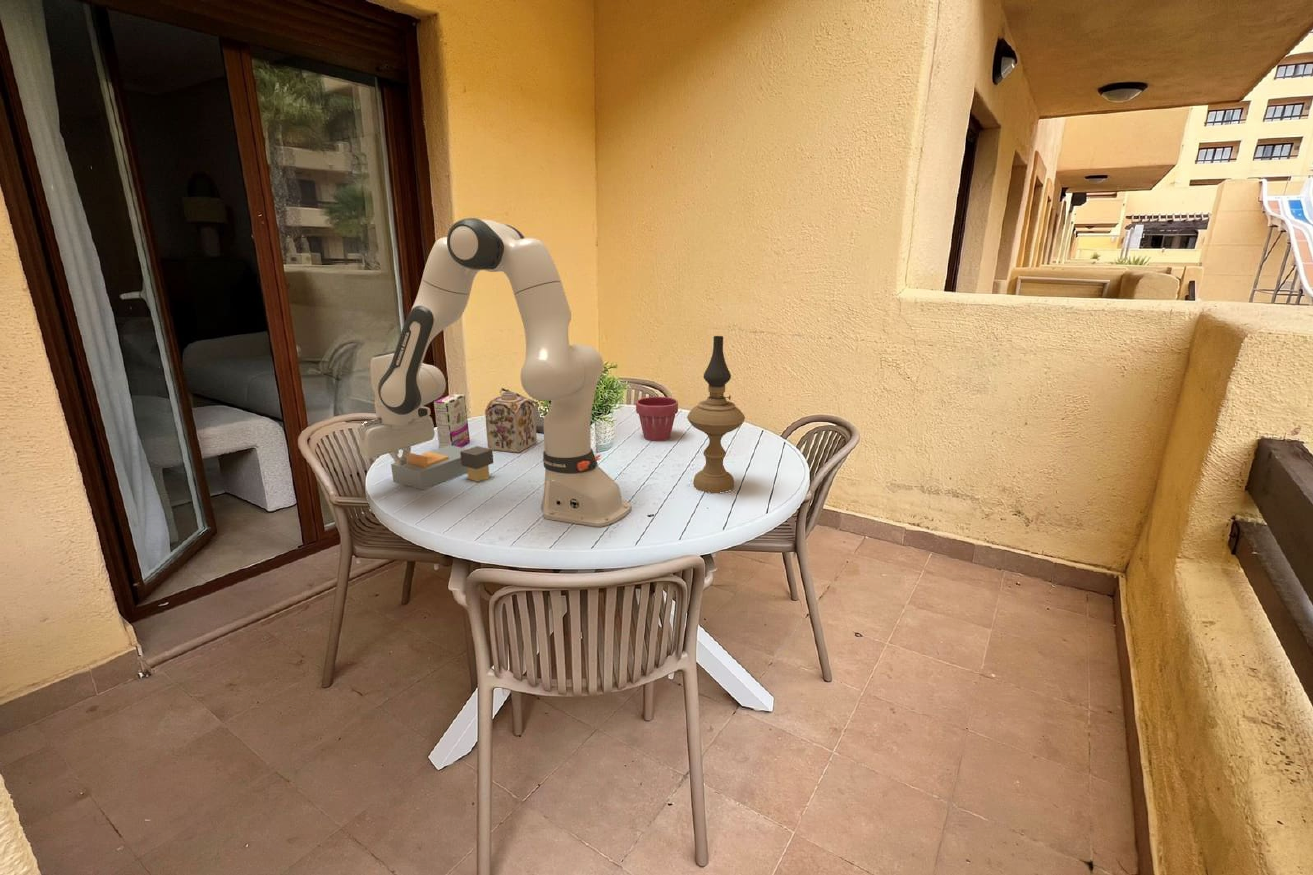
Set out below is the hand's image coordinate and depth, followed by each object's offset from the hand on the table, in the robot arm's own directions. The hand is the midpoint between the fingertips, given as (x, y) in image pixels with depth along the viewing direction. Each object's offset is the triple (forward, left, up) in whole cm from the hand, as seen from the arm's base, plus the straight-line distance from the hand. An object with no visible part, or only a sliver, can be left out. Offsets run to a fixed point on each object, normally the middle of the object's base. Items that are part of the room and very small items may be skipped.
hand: (401, 464), depth 154 cm
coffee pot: (+9, -59, -6) cm, 60 cm away
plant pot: (-35, -74, -6) cm, 82 cm away
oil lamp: (-71, -43, -6) cm, 83 cm away
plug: (-12, -15, -6) cm, 20 cm away
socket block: (0, -11, -6) cm, 13 cm away
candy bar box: (+16, -31, -6) cm, 35 cm away
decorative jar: (0, -41, -6) cm, 41 cm away
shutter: (0, -8, -1) cm, 8 cm away
